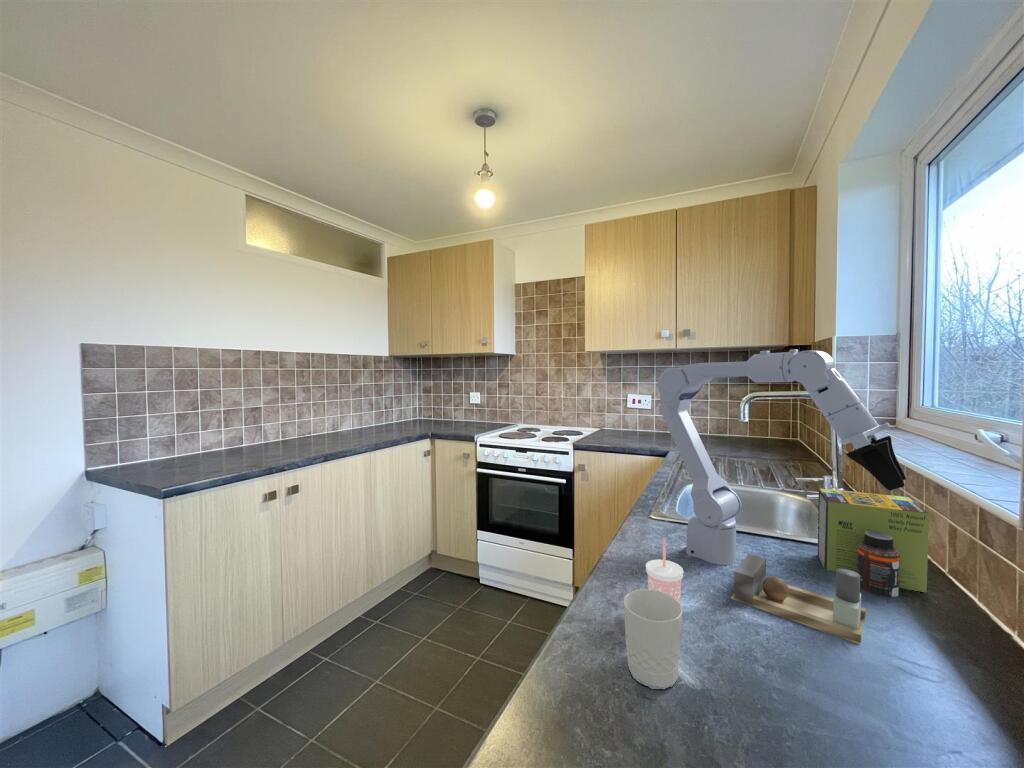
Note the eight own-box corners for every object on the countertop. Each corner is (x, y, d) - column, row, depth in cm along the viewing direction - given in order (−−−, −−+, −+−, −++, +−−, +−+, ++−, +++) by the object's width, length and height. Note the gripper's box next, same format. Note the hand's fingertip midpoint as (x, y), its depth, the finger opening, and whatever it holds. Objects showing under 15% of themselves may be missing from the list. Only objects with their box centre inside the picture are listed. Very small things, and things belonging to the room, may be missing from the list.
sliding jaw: (832, 626, 65) (833, 577, 65) (837, 609, 69) (838, 563, 69) (857, 634, 63) (858, 584, 63) (860, 616, 67) (861, 569, 67)
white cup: (640, 645, 64) (640, 583, 63) (691, 671, 58) (691, 603, 58) (613, 672, 58) (613, 604, 58) (666, 704, 53) (666, 629, 52)
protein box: (928, 594, 76) (931, 513, 75) (825, 575, 83) (827, 501, 83) (907, 569, 85) (909, 496, 84) (816, 554, 92) (817, 487, 92)
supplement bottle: (907, 605, 73) (909, 543, 72) (869, 601, 74) (871, 540, 74) (884, 587, 79) (886, 529, 78) (849, 584, 80) (850, 527, 79)
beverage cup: (648, 604, 74) (648, 529, 74) (684, 613, 72) (684, 535, 71) (643, 624, 69) (642, 543, 68) (682, 634, 66) (682, 549, 66)
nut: (759, 599, 73) (760, 577, 73) (765, 590, 76) (765, 569, 76) (786, 608, 70) (786, 586, 70) (790, 598, 73) (791, 577, 73)
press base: (730, 604, 74) (730, 571, 74) (746, 582, 81) (746, 552, 81) (860, 652, 61) (861, 612, 61) (865, 621, 69) (866, 585, 68)
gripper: (865, 398, 63) (929, 481, 58) (873, 399, 74) (927, 469, 68) (817, 419, 68) (872, 498, 62) (830, 417, 78) (879, 485, 73)
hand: (897, 484), depth 66 cm, fingers open, 7 cm apart
